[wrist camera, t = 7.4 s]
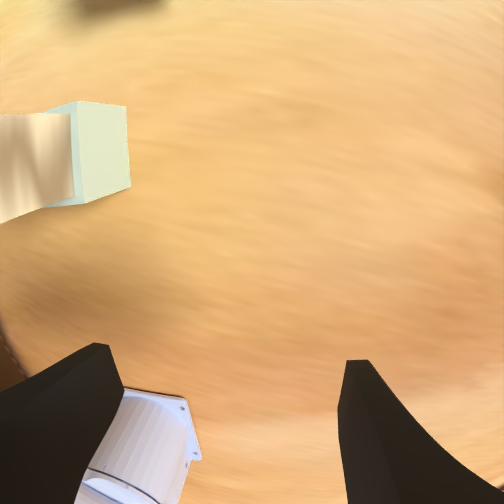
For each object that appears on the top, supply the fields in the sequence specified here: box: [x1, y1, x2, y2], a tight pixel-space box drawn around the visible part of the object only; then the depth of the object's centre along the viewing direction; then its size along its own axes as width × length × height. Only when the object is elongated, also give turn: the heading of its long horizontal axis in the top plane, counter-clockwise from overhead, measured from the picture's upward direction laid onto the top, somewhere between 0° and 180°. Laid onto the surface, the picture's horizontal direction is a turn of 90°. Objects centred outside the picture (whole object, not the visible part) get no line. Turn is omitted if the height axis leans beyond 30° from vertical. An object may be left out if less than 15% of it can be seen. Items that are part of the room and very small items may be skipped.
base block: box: [39, 101, 131, 208], centre depth 15 cm, size 5×5×5 cm
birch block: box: [0, 113, 75, 224], centre depth 10 cm, size 4×4×5 cm
